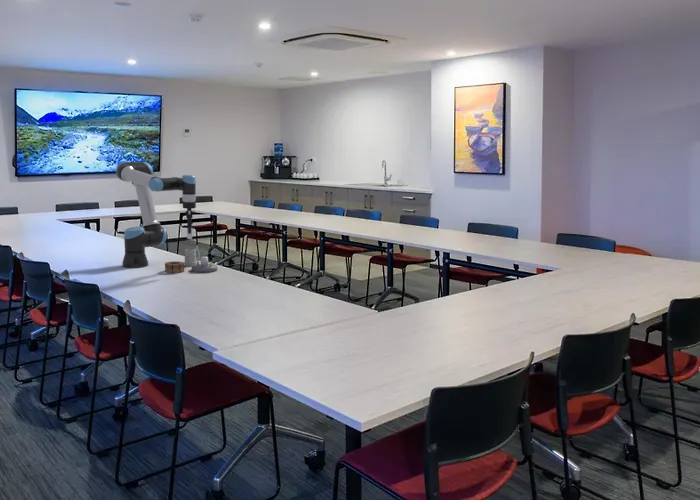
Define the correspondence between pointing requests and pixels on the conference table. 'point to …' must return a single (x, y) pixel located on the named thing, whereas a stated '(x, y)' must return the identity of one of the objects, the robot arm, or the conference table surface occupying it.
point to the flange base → (203, 270)
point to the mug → (191, 256)
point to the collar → (174, 267)
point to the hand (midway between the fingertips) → (189, 237)
